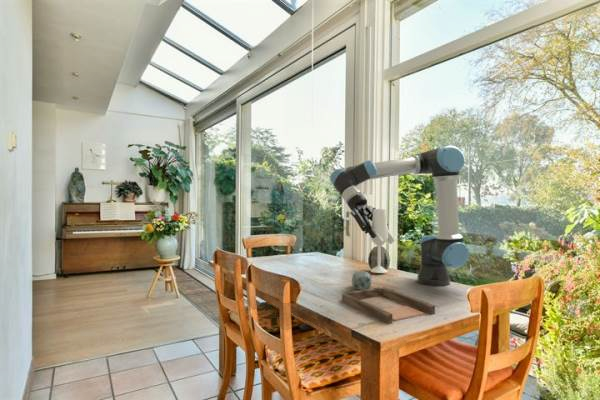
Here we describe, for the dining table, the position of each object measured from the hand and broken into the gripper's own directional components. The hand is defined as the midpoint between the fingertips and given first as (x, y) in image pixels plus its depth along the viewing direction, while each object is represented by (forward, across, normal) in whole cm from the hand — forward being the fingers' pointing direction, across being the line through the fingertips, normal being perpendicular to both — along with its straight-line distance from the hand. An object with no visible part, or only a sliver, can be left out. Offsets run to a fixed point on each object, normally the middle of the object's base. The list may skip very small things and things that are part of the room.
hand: (386, 242), depth 134 cm
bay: (+17, -1, -18) cm, 25 cm away
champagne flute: (+6, 0, -11) cm, 12 cm away
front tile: (+23, +1, -13) cm, 26 cm away
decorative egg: (-9, -46, -46) cm, 65 cm away
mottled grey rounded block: (+2, -13, -35) cm, 37 cm away
